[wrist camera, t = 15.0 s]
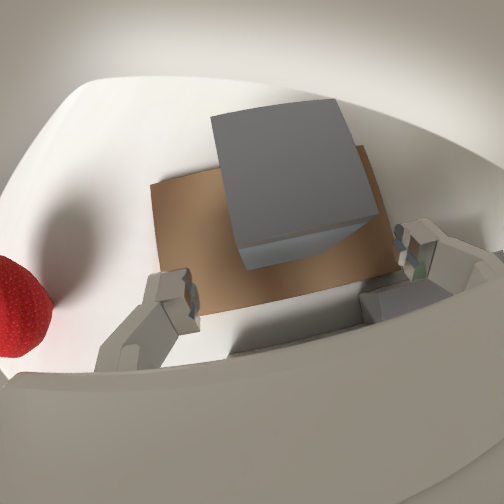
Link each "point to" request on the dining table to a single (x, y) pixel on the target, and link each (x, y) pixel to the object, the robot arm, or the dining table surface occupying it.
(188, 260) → the walnut pad
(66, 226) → the dining table surface
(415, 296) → the grey socket base
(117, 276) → the dining table surface
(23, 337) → the strawberry
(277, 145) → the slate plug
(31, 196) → the dining table surface
